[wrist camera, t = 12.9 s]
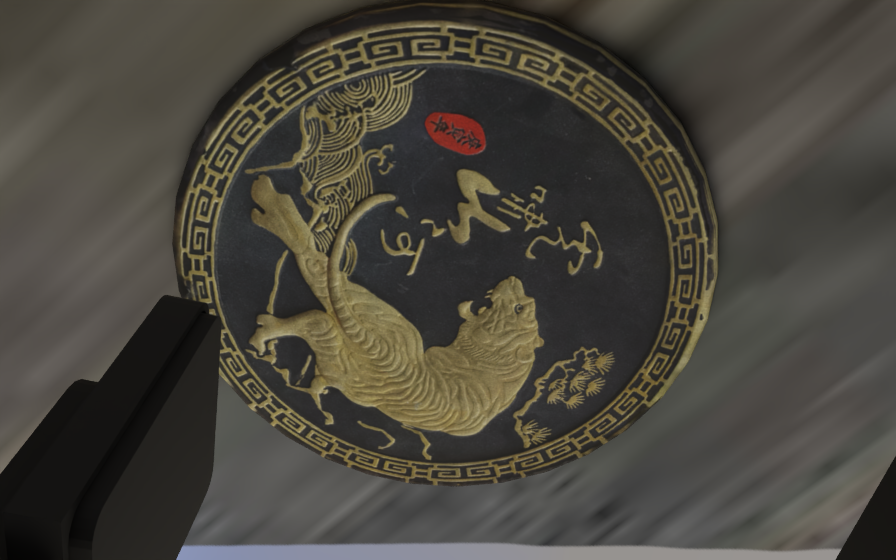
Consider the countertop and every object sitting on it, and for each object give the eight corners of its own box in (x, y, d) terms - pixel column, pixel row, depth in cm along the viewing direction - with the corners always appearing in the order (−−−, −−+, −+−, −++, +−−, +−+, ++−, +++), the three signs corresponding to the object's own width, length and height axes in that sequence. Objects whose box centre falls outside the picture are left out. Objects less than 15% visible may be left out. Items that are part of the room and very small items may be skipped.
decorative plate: (313, -131, 36) (848, 203, 42) (321, -134, 38) (835, 188, 44) (95, 356, 50) (525, 555, 56) (108, 338, 51) (524, 534, 57)
